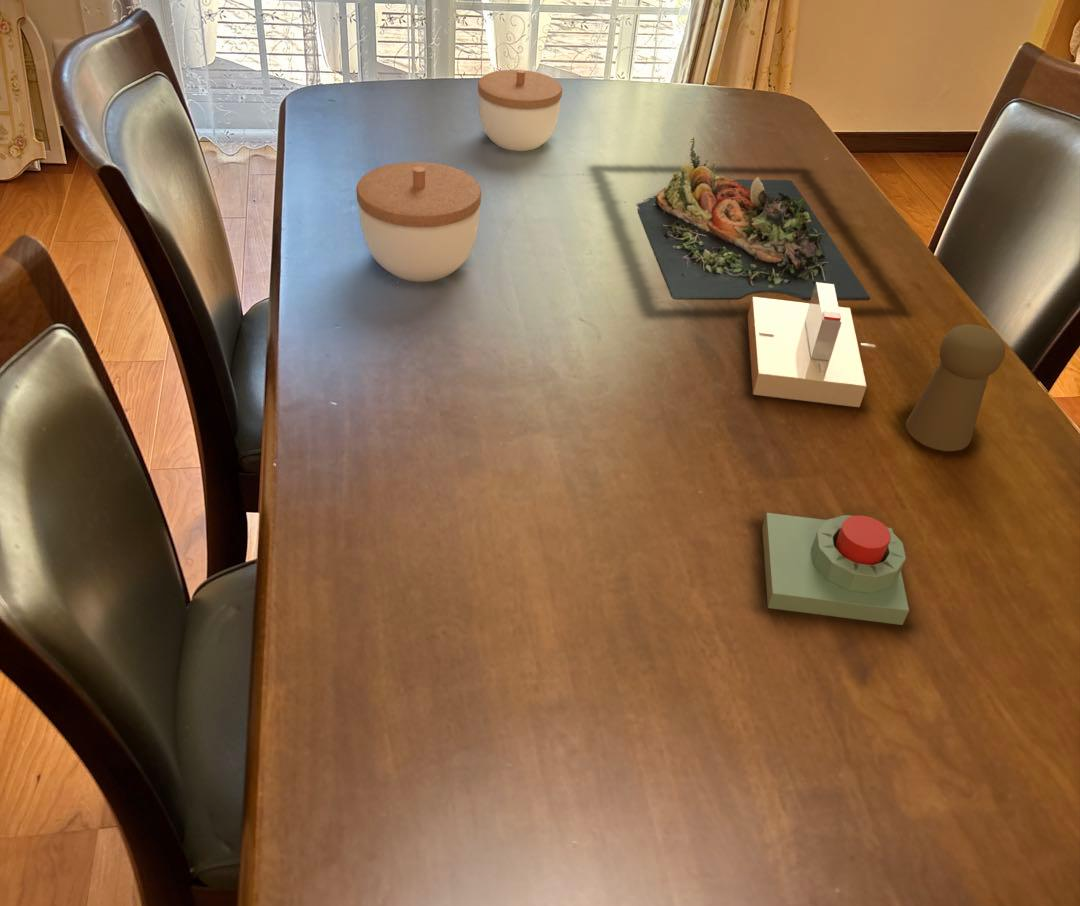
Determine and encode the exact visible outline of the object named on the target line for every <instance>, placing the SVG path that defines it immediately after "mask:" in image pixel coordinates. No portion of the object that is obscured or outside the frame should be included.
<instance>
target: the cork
mask: <svg viewBox="0 0 1080 906" xmlns="http://www.w3.org/2000/svg"><path fill="white" fill-rule="evenodd" d="M1005 347H1006V346H1005V342H1004V339H1002V337H1001V336H1000V335H999V334H997V333H996V332H995V331H994V330H992V329H989V328H988V327H985V326H983V325H977V324H972V323H971V324H968V323H967V324H966V323H965V324H960V325H959V324H958V325H956V326H955V327H953V328H951V329H950V330H949V331H948V332H947V333H945V336H944V337H943V338H942V340H941V342H940V346H939V360H940V362H939V364H938V365H937V367H936V369H935V371H934V372H933V374H932V376H931V378H930V380H929V381H928V383H927V385H926V386H925V388H924V390H923V392H922V394H921V395H920V397H919V399H918V400H917V402H916V404H915V406H913V409H912V410H911V412H910V414H909V416H908V417H907V419H906V421H905V428H906V431H907V432H908V434H909V435H910V436H911V437H912V438H913V439H914V440H915V441H916V442H918V443H920V444H921V445H923V446H925V447H928V448H930V449H933V450H937V451H942V452H956V451H962V450H964V449H965V448H967V447H969V445H970V443H971V442H972V438H973V434H974V430H975V427H976V423H977V420H978V416H979V413H980V410H981V405H982V403H983V398H984V394H985V391H986V387H987V383H988V380H989V377H990V376H991V375H992V374H993V375H994V373H996V372H997V370H998V369H999V368H1000V367H1001V365H1002V363H1003V361H1004V358H1005V354H1006V348H1005Z"/></svg>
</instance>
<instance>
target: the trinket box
mask: <svg viewBox="0 0 1080 906" xmlns="http://www.w3.org/2000/svg"><path fill="white" fill-rule="evenodd" d="M477 92H478V114H479V120H480V123H481V125H482V126H481V127H482V129H483V132H485V134H486V136H487V137H488V138H489V140H490V141H491V142H492V143H493V144H495V145H496V146H498V147H500V148H502V149H505V150H508V151H509V150H510V151H516V152H525V151H531V150H535V149H538V148H539V147H541V146H542V145H544V144H545V143H546V142H547V141H548V140H549V139H550V137H551V136H552V134H553V133H554V131H555V129H556V126H557V123H558V119H559V115H560V110H561V109H560V108H561V99H562V96H563V87H562V85H561V83H560V82H559V81H558V80H556V79H555V78H553V77H551V76H549V75H547V74H545V73H541V72H536V71H532V70H525V69H504V70H503V69H502V70H495V71H492V72H489V73H487V74H484V75H483V76H481V77H480V78H479V80H478V82H477Z"/></svg>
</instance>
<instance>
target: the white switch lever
mask: <svg viewBox="0 0 1080 906" xmlns="http://www.w3.org/2000/svg"><path fill="white" fill-rule="evenodd" d="M838 301H839V300H837V296H836V291H835V286H834V284H827V283H818V282H816V283H815V287H814V290H813V294H812V297H811V299H810V301H809V303H810V304H809V308H808V311H807V315H806V319H805V321H806V328H807V335H808V341H809V348H810V354H811V358H812V359H821V360H830V359H831V355H832V352H833V349H834V346H835V342H836V339H837V336H838V333H839V330H840V326H841V323H842V321H841V316H840V311H839V307H840V305H839V302H838Z"/></svg>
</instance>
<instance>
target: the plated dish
mask: <svg viewBox="0 0 1080 906" xmlns="http://www.w3.org/2000/svg"><path fill="white" fill-rule="evenodd" d="M690 143H692V144H691V147H690V149H689V151H690V154H689V156H690V163H691V164H690V163H685V164H684V165H683V166H681V167H680V171H677V172H673V175H672V178H671V180H670V181H669V183H668V186H666V187H663V188H662V189H661V190H660V191H659V192H658V193H657V194H656V195H654V196H653V197H647V198H646V199H645V198H644V199H642V201H641V202H638V203H635V205H636V207H637V209H636V210H637V214H638V217H639V220H640V222H641V224H642V227H643V230H644V232H645V235H646V237H647V240H648V242H649V245H650V247H651V250H652V251H653V254H654V257H655V259H656V261H657V264H658V267H659V269H660V272H661V274H662V277H663V279H664V281H665V283H666V286H667V289H668V291H669V293H670V297H671V298H672V299H673V300H741V299H742V298H744V297H746V296H749V295H752V294H758V293H759V294H760V293H778V294H783V295H787V296H790V297H794V298H796V299H800V300H803V301H805V300H811V297H812V294H813V290H814V287H815V283H816V282H818V283H827V284H834V286H835V291H836V296H837V301H846V300H847V301H848V300H852V301H854V300H855V301H857V300H858V301H859V300H860V301H861V300H862V301H865V300H868V301H869V300H870V299H871V297H870V295H869V293H868V291H867V290H866V289H865V287H864V284H862V283H861V281H860V280H859V278H858V277H857V275H856V273H855V272H854V270H852V268H851V266H850V265H849V263H848V261H847V260H846V259H845V257H844V256H843V253H842V252H841V251H840V250H839V248H838V247H837V245H836V243H835V242H834V240H833V239H832V237H831V235H829V233H828V231H827V230H826V229H825V227H824V226H823V224H822V223H821V222H820V220H819V218H818V217H817V215H816V213H815V212H814V211H813V210H812V208H811V207H810V205H809V204H808V202H807V201H806V199H805V198H804V197H803V194H802V193H801V192H800V190H799V189H798V188H797V186H796V185H795V183H794V182H793V181H792V180H790V179H789V180H788V179H760V177H759V176H757V177H755V178H754V179H733V180H729V179H727V178H726V177H725V176H723V175H722V174H719V175H716V168H717V167H716V166H715V165H716V163H712V166H711V167H712V169H710V168H709V167H707V163H709V160H708V159H706V160H705V161H706V162H705V163H703V165H700V164H701V156H700V155H697V153H696V152H695V150H694V148H695V143H696V141H695V137H693V138H692V139H690Z"/></svg>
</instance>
